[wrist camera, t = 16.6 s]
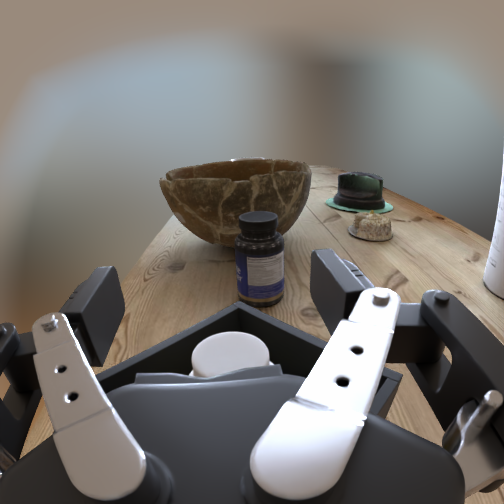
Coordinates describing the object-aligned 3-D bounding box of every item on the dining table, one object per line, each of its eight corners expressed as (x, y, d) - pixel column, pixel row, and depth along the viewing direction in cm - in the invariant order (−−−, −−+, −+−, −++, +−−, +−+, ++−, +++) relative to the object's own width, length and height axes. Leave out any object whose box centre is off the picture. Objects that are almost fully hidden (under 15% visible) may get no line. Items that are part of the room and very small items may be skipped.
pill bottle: (239, 285, 43) (234, 210, 39) (282, 284, 43) (281, 208, 39) (237, 309, 38) (230, 224, 33) (286, 307, 37) (286, 222, 33)
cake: (383, 228, 66) (387, 205, 63) (398, 244, 56) (403, 219, 54) (343, 224, 66) (346, 201, 64) (353, 241, 57) (357, 214, 55)
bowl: (153, 280, 46) (138, 185, 40) (180, 227, 71) (173, 164, 65) (329, 268, 47) (332, 172, 41) (296, 219, 72) (295, 156, 66)
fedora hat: (395, 198, 88) (397, 216, 71) (344, 219, 98) (335, 241, 81) (374, 155, 85) (373, 162, 69) (324, 179, 95) (310, 192, 79)
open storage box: (243, 575, 9) (229, 565, 6) (116, 443, 19) (79, 382, 16) (376, 437, 19) (403, 374, 16) (244, 364, 28) (239, 300, 26)
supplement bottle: (194, 438, 20) (162, 340, 16) (257, 413, 22) (251, 311, 18) (226, 494, 15) (199, 411, 11) (296, 460, 18) (308, 364, 14)
